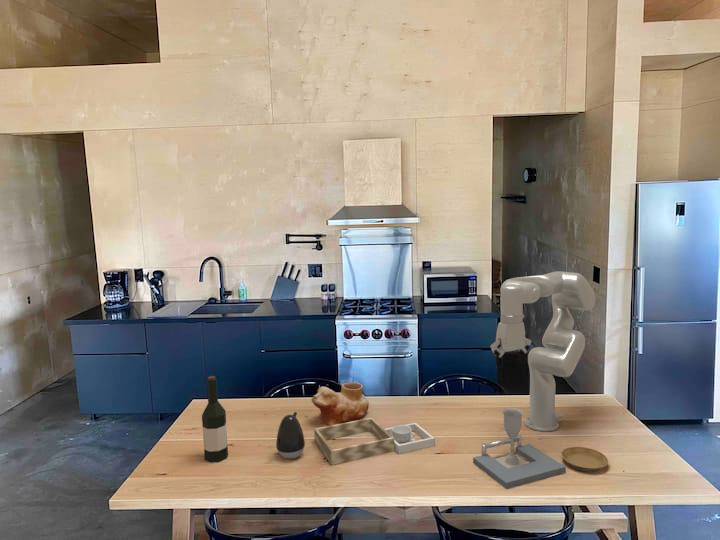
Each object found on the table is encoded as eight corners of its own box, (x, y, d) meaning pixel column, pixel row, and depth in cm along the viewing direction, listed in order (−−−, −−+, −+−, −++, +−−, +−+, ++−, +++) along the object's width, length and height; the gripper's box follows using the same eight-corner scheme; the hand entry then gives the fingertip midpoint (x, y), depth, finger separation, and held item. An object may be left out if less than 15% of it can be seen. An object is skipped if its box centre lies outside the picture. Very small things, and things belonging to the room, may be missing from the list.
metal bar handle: (519, 450, 191) (519, 434, 190) (522, 452, 189) (522, 436, 188) (480, 459, 184) (480, 443, 184) (483, 461, 183) (483, 445, 182)
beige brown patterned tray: (372, 429, 210) (371, 417, 210) (394, 451, 192) (394, 438, 191) (314, 441, 201) (314, 428, 201) (331, 465, 183) (331, 451, 182)
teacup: (385, 444, 198) (385, 432, 197) (393, 433, 207) (393, 422, 206) (411, 448, 194) (411, 436, 193) (418, 437, 203) (418, 425, 203)
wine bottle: (207, 465, 185) (201, 382, 181) (202, 455, 192) (197, 375, 188) (230, 459, 189) (226, 378, 185) (225, 449, 196) (220, 371, 192)
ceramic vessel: (305, 420, 221) (304, 385, 219) (358, 405, 235) (357, 373, 233) (321, 431, 209) (320, 395, 207) (375, 416, 223) (375, 381, 221)
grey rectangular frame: (529, 449, 191) (529, 443, 191) (565, 472, 175) (565, 466, 174) (473, 462, 182) (473, 457, 182) (506, 488, 166) (506, 482, 166)
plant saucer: (613, 476, 172) (614, 469, 172) (566, 473, 174) (566, 466, 174) (600, 454, 186) (600, 447, 186) (557, 452, 189) (557, 445, 188)
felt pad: (513, 454, 188) (513, 453, 188) (531, 466, 179) (531, 465, 179) (492, 459, 184) (492, 459, 184) (509, 471, 176) (509, 471, 176)
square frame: (415, 429, 209) (415, 422, 209) (434, 445, 195) (434, 438, 195) (381, 437, 204) (380, 429, 203) (398, 454, 190) (398, 446, 189)
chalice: (523, 468, 178) (524, 417, 175) (502, 466, 179) (503, 415, 177) (521, 457, 185) (522, 408, 182) (501, 456, 186) (501, 407, 184)
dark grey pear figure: (310, 450, 194) (308, 411, 192) (297, 464, 184) (295, 422, 182) (285, 446, 197) (283, 408, 195) (271, 460, 188) (269, 419, 185)
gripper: (524, 314, 196) (523, 359, 198) (485, 319, 189) (484, 365, 191) (538, 318, 189) (536, 364, 191) (498, 323, 182) (497, 371, 184)
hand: (510, 365), depth 191 cm, fingers open, 9 cm apart
